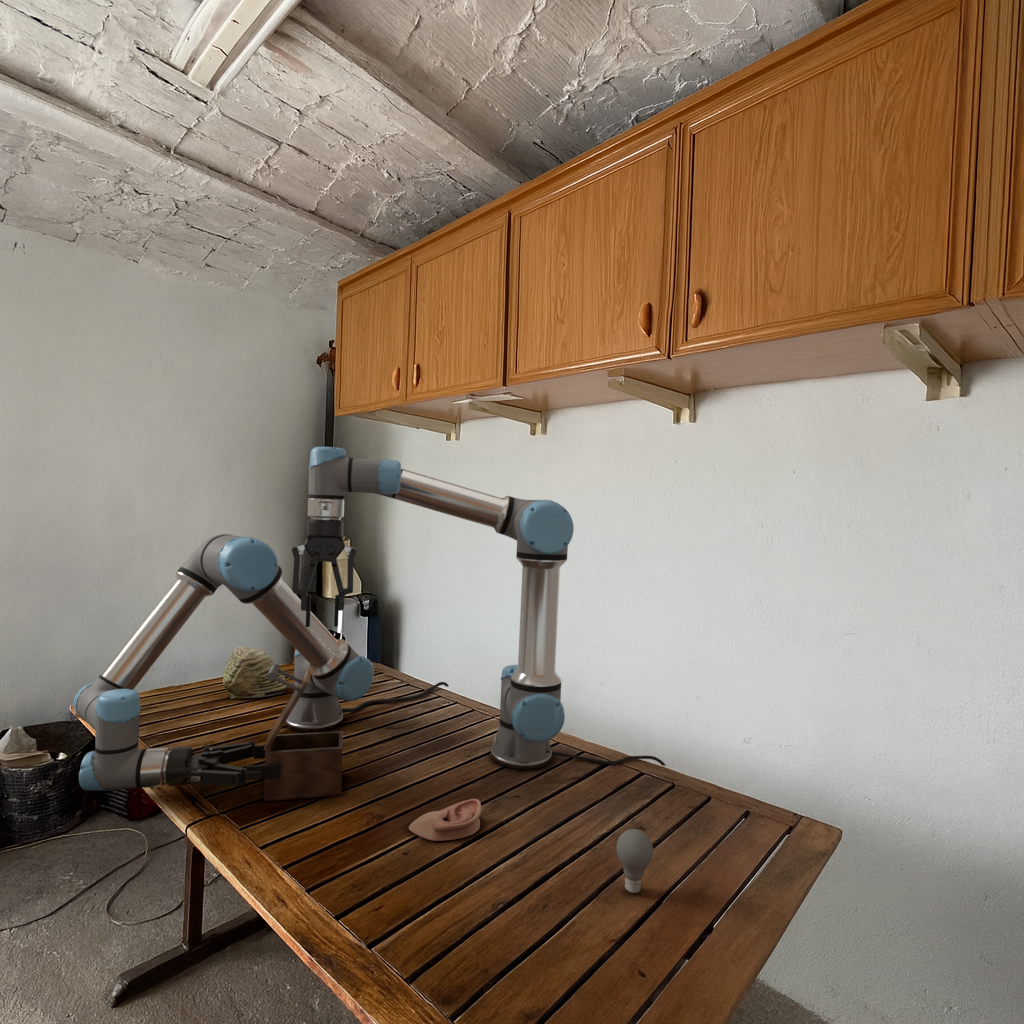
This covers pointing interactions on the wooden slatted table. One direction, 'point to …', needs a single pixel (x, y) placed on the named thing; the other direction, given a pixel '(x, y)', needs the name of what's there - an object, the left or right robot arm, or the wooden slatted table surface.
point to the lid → (292, 701)
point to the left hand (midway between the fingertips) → (283, 760)
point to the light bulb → (634, 857)
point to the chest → (305, 765)
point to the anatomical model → (449, 822)
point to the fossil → (250, 674)
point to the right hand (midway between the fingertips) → (322, 625)
